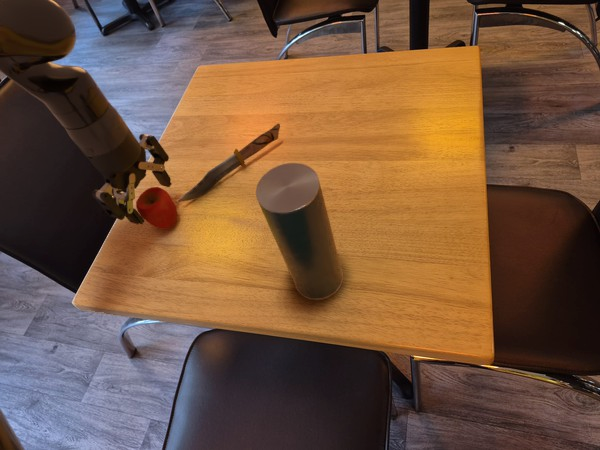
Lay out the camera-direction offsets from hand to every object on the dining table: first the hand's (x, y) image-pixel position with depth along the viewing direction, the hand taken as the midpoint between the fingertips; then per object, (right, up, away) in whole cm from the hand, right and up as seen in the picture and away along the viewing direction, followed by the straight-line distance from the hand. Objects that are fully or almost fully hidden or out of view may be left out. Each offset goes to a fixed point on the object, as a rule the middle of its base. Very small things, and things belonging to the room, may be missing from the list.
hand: (153, 203), depth 78 cm
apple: (+1, -3, +4) cm, 6 cm away
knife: (+13, +6, +8) cm, 17 cm away
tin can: (+29, -12, -9) cm, 33 cm away
